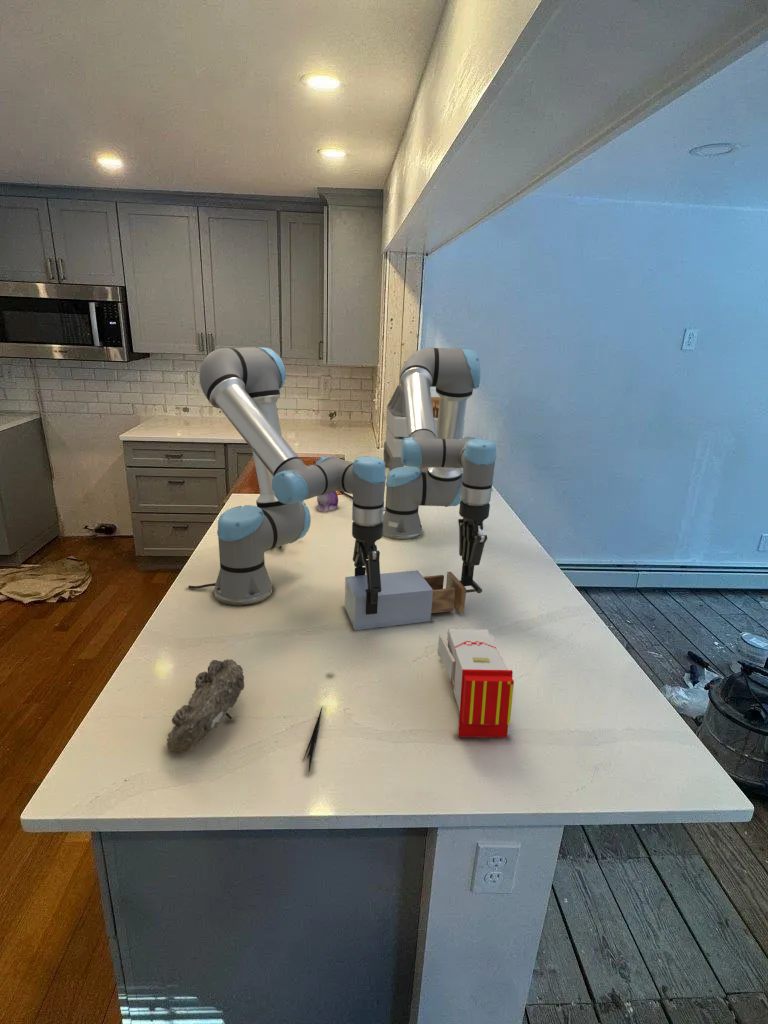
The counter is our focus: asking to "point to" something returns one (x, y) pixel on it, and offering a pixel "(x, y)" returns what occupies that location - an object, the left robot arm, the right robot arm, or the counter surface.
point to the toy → (478, 682)
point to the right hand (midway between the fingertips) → (466, 584)
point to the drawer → (449, 593)
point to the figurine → (327, 501)
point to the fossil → (206, 705)
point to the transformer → (400, 427)
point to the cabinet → (389, 600)
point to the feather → (313, 740)
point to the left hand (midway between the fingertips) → (365, 601)
